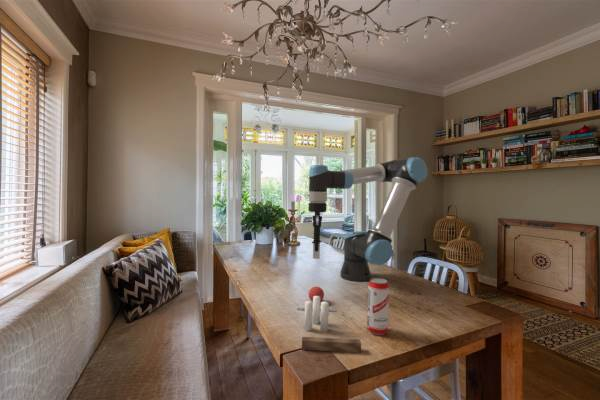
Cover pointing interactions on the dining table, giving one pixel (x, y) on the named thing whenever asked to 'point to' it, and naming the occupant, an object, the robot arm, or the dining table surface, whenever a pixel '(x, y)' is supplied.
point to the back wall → (331, 344)
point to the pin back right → (324, 316)
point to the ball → (316, 293)
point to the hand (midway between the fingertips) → (316, 258)
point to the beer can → (378, 306)
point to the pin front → (316, 310)
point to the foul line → (320, 309)
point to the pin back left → (308, 315)
